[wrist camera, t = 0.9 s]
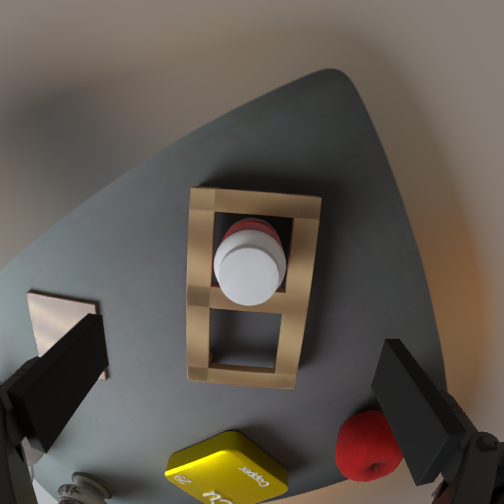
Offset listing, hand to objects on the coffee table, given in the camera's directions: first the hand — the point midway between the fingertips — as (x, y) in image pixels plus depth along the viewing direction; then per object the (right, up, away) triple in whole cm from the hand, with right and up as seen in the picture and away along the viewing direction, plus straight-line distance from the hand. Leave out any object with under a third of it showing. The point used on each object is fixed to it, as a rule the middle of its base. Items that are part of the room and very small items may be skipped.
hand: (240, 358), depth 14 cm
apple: (+17, -20, +27) cm, 38 cm away
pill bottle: (+1, +5, +21) cm, 22 cm away
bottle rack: (0, +1, +22) cm, 23 cm away
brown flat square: (-26, -7, +25) cm, 36 cm away
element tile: (-3, -30, +30) cm, 43 cm away
